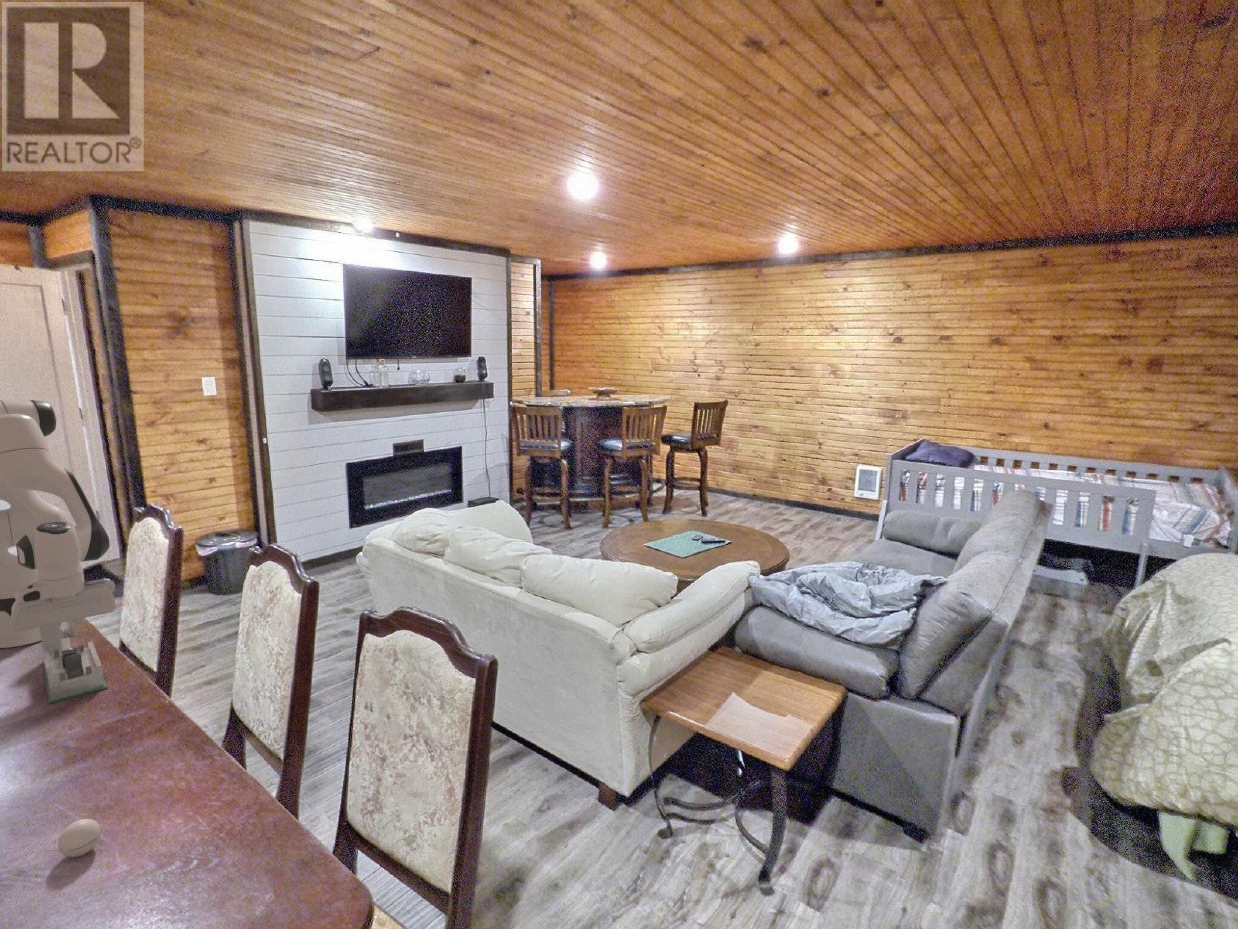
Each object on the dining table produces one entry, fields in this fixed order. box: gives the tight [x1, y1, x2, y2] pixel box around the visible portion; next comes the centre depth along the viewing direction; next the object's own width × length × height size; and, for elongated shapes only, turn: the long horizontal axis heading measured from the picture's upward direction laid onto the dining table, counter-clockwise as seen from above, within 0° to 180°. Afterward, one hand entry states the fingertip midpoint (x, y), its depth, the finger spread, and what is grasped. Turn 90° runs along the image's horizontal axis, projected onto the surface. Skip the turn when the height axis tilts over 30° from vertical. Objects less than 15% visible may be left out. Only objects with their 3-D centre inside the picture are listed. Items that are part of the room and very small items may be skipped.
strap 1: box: [61, 647, 79, 655], centre depth 165 cm, size 8×3×1 cm, turn 45°
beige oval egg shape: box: [57, 818, 117, 858], centre depth 107 cm, size 8×6×6 cm
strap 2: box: [64, 653, 84, 678], centre depth 158 cm, size 8×3×1 cm, turn 45°
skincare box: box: [40, 621, 72, 656], centre depth 173 cm, size 6×4×12 cm
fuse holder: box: [42, 640, 108, 705], centre depth 162 cm, size 21×11×7 cm, turn 45°
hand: (68, 636), depth 163 cm, fingers closed
